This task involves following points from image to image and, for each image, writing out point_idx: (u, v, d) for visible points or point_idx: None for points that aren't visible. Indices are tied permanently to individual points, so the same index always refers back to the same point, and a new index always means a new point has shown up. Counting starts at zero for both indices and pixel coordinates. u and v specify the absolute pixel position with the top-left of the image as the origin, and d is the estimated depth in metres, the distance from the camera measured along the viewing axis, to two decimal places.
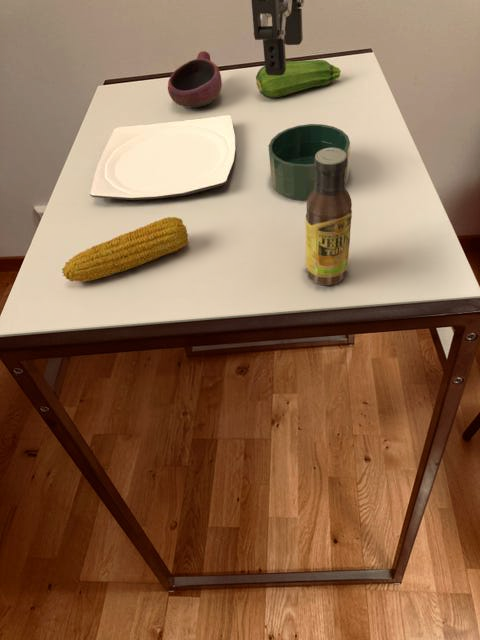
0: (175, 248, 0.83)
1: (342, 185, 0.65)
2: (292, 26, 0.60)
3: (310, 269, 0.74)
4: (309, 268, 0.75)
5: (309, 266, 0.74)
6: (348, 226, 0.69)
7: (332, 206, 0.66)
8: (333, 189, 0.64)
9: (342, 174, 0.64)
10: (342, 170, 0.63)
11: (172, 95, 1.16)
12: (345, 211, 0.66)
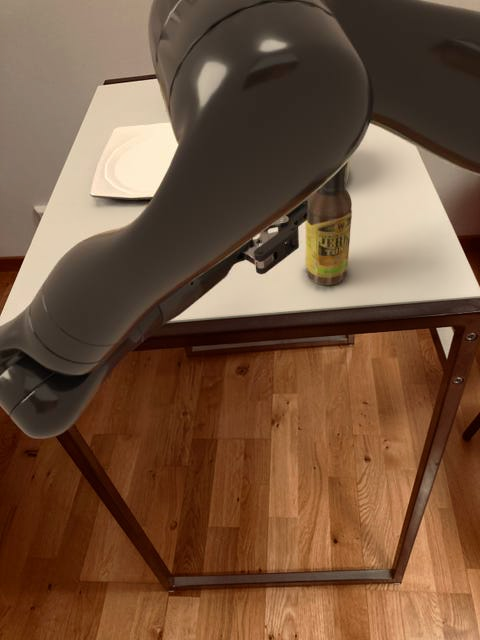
0: None
1: (342, 185, 0.65)
2: None
3: (310, 269, 0.74)
4: (309, 268, 0.75)
5: (309, 266, 0.74)
6: (348, 226, 0.69)
7: (332, 206, 0.66)
8: (333, 189, 0.64)
9: (342, 174, 0.64)
10: (342, 170, 0.63)
11: None
12: (345, 211, 0.66)
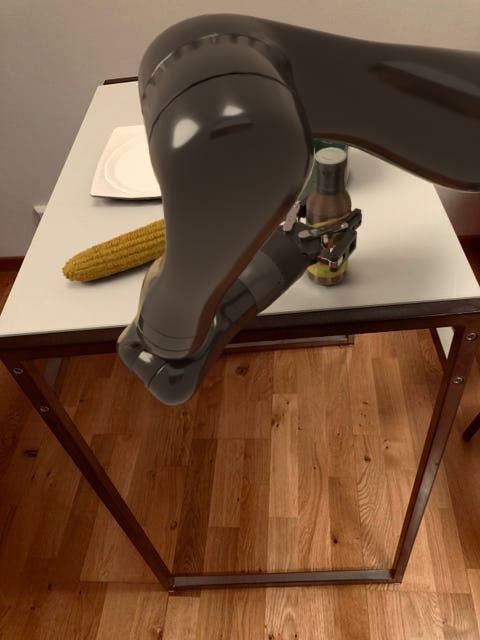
0: None
1: (342, 185, 0.65)
2: None
3: (310, 269, 0.74)
4: (309, 268, 0.75)
5: (309, 266, 0.74)
6: None
7: (332, 205, 0.66)
8: (333, 188, 0.64)
9: (342, 174, 0.64)
10: (342, 170, 0.63)
11: None
12: (345, 211, 0.66)
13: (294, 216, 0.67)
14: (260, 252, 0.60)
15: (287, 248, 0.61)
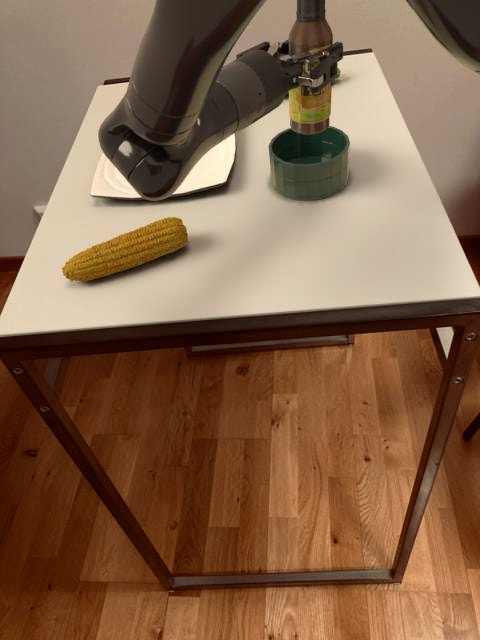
0: (175, 248, 0.83)
1: (323, 11, 0.66)
2: None
3: (293, 117, 0.75)
4: (292, 116, 0.76)
5: (292, 113, 0.75)
6: None
7: (313, 33, 0.66)
8: (314, 13, 0.65)
9: None
10: None
11: None
12: (326, 40, 0.67)
13: (276, 48, 0.68)
14: (241, 63, 0.61)
15: (268, 62, 0.62)
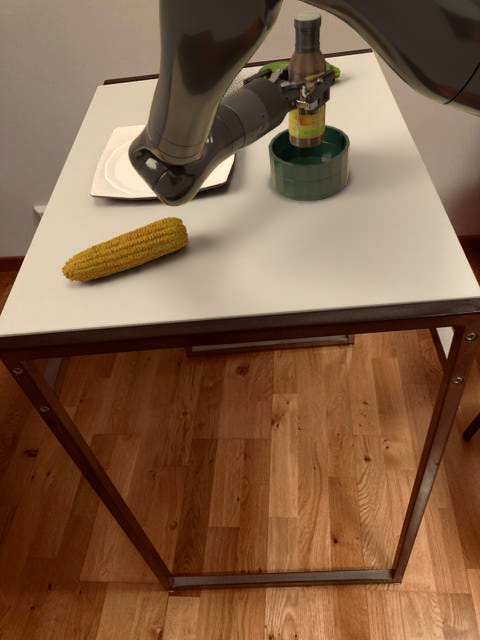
0: (175, 248, 0.83)
1: (317, 44, 0.77)
2: None
3: (292, 132, 0.86)
4: (291, 132, 0.86)
5: (291, 129, 0.86)
6: None
7: (309, 62, 0.77)
8: (310, 46, 0.76)
9: (317, 32, 0.76)
10: (317, 28, 0.75)
11: None
12: (321, 69, 0.78)
13: (277, 74, 0.79)
14: (248, 90, 0.72)
15: (271, 89, 0.73)
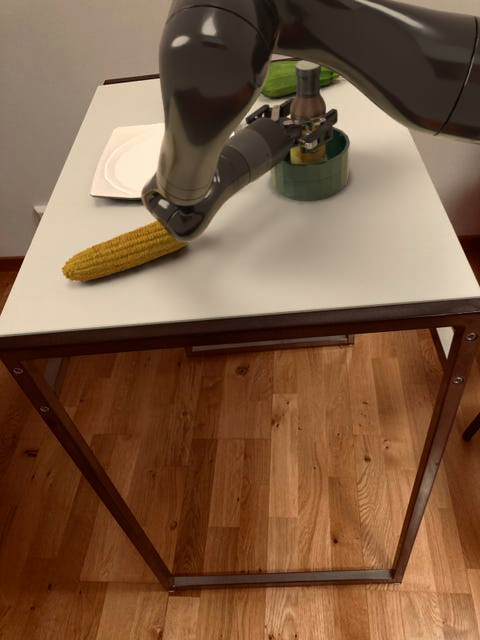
0: (175, 248, 0.83)
1: (317, 89, 0.82)
2: (289, 108, 0.88)
3: None
4: None
5: None
6: None
7: (310, 107, 0.82)
8: (310, 92, 0.81)
9: (317, 79, 0.80)
10: (317, 75, 0.80)
11: None
12: (321, 112, 0.83)
13: (278, 112, 0.84)
14: (252, 130, 0.77)
15: (274, 129, 0.77)
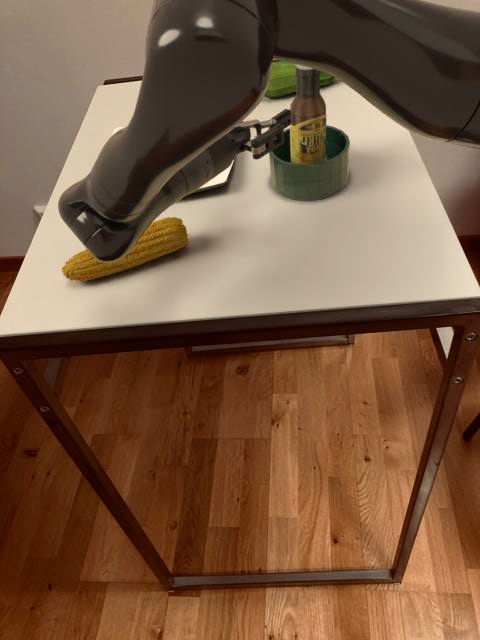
0: (175, 248, 0.83)
1: (317, 89, 0.82)
2: None
3: None
4: None
5: None
6: (323, 127, 0.86)
7: (310, 107, 0.82)
8: (310, 92, 0.81)
9: (317, 79, 0.80)
10: (317, 75, 0.80)
11: None
12: (321, 112, 0.83)
13: None
14: None
15: None
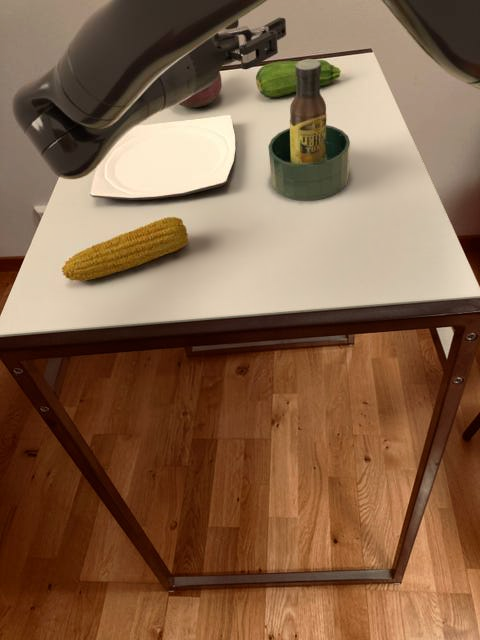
0: (175, 248, 0.83)
1: (317, 89, 0.82)
2: None
3: None
4: None
5: None
6: (323, 127, 0.86)
7: (310, 107, 0.82)
8: (310, 92, 0.81)
9: (317, 79, 0.80)
10: (317, 75, 0.80)
11: None
12: (321, 112, 0.83)
13: None
14: None
15: None
